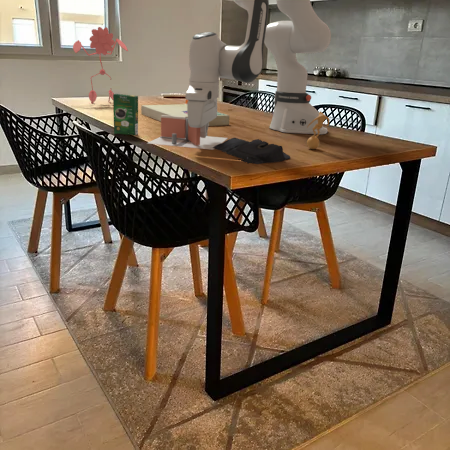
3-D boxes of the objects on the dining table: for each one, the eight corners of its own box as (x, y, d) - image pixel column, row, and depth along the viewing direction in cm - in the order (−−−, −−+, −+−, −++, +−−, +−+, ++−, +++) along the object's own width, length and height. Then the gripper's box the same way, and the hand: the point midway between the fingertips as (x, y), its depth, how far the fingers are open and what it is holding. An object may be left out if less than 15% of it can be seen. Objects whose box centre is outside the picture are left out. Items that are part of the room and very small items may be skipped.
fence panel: (199, 144, 139) (200, 122, 137) (196, 144, 139) (196, 122, 137) (191, 139, 147) (192, 118, 145) (188, 139, 147) (188, 118, 144)
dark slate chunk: (246, 146, 147) (247, 131, 146) (294, 161, 131) (296, 144, 129) (207, 150, 139) (207, 134, 137) (253, 167, 122) (254, 149, 121)
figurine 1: (73, 102, 225) (69, 24, 212) (123, 101, 239) (121, 28, 226) (84, 107, 213) (80, 25, 200) (135, 105, 228) (135, 29, 214)
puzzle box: (190, 114, 212) (140, 115, 201) (190, 103, 210) (140, 104, 199) (229, 127, 183) (174, 129, 172) (230, 115, 182) (174, 116, 170)
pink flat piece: (192, 139, 149) (193, 117, 146) (190, 140, 147) (191, 118, 144) (162, 136, 151) (162, 114, 148) (160, 137, 149) (160, 115, 146)
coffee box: (139, 135, 154) (138, 95, 149) (135, 136, 151) (134, 95, 146) (117, 133, 156) (116, 93, 151) (113, 134, 153) (111, 94, 148)
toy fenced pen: (227, 139, 154) (228, 129, 153) (213, 151, 136) (213, 139, 135) (168, 134, 158) (168, 123, 157) (146, 144, 140) (146, 133, 139)
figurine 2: (318, 147, 150) (322, 109, 145) (330, 150, 145) (335, 112, 140) (298, 148, 146) (302, 110, 141) (310, 152, 141) (314, 112, 136)
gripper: (203, 87, 147) (203, 130, 152) (183, 94, 129) (183, 143, 134) (222, 88, 146) (221, 131, 151) (205, 95, 127) (204, 144, 133)
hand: (203, 137), depth 142 cm, fingers closed
